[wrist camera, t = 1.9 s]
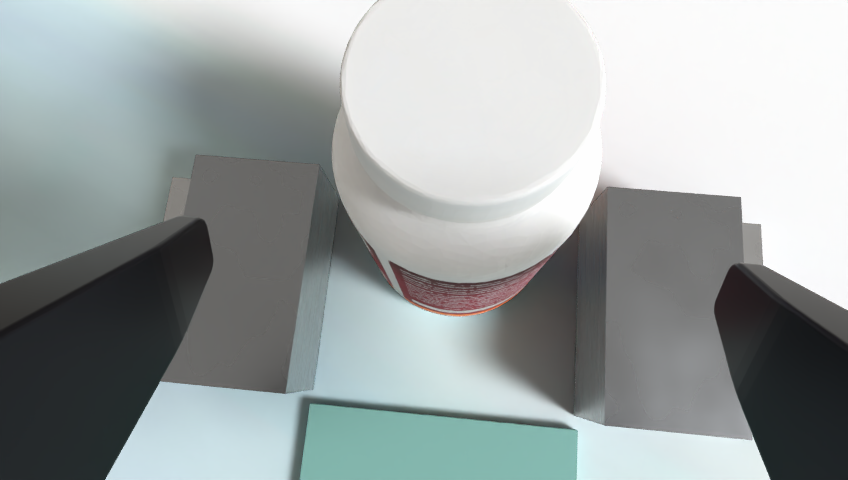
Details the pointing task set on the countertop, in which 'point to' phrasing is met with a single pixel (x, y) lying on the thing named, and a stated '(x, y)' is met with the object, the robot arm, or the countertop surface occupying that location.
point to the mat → (431, 447)
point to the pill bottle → (468, 143)
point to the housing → (596, 293)
